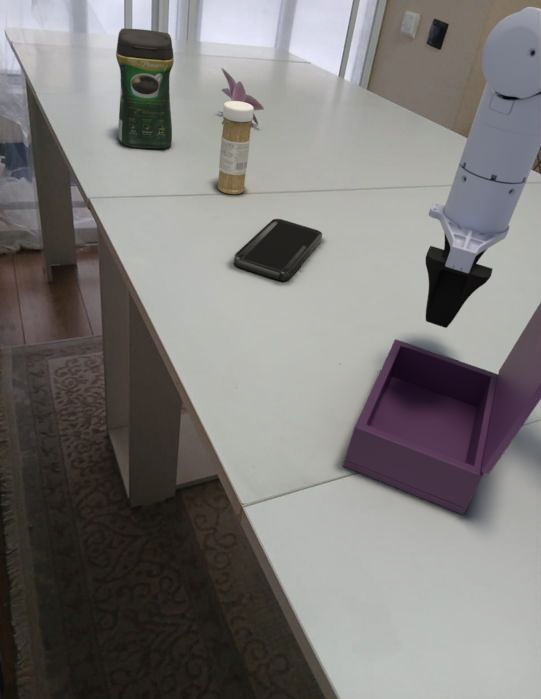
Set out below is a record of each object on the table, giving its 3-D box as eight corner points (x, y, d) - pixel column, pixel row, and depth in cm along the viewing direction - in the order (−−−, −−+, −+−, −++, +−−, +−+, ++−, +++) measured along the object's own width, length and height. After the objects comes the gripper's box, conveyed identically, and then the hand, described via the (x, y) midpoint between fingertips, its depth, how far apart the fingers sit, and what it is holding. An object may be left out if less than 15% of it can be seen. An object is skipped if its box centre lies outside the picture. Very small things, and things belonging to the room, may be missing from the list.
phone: (231, 257, 77) (275, 217, 88) (230, 265, 77) (274, 224, 89) (288, 275, 75) (325, 232, 86) (287, 283, 75) (323, 239, 87)
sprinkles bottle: (237, 183, 100) (246, 99, 92) (249, 194, 97) (259, 109, 89) (212, 185, 98) (219, 99, 90) (223, 196, 95) (231, 109, 87)
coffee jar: (170, 137, 114) (174, 29, 102) (172, 152, 107) (176, 38, 96) (118, 133, 111) (116, 22, 100) (117, 148, 105) (114, 31, 94)
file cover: (555, 362, 39) (564, 365, 39) (559, 271, 50) (566, 274, 50) (480, 471, 46) (488, 475, 46) (498, 370, 57) (504, 373, 57)
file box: (342, 466, 52) (354, 426, 49) (383, 375, 63) (395, 338, 60) (462, 515, 49) (483, 476, 46) (483, 411, 60) (500, 374, 58)
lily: (260, 140, 123) (280, 95, 121) (209, 112, 118) (229, 65, 116) (243, 139, 133) (261, 97, 131) (196, 113, 128) (214, 70, 126)
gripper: (458, 138, 57) (418, 262, 65) (432, 183, 46) (387, 326, 54) (533, 157, 55) (482, 282, 64) (524, 209, 44) (463, 352, 52)
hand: (443, 304), depth 59 cm, fingers open, 7 cm apart
